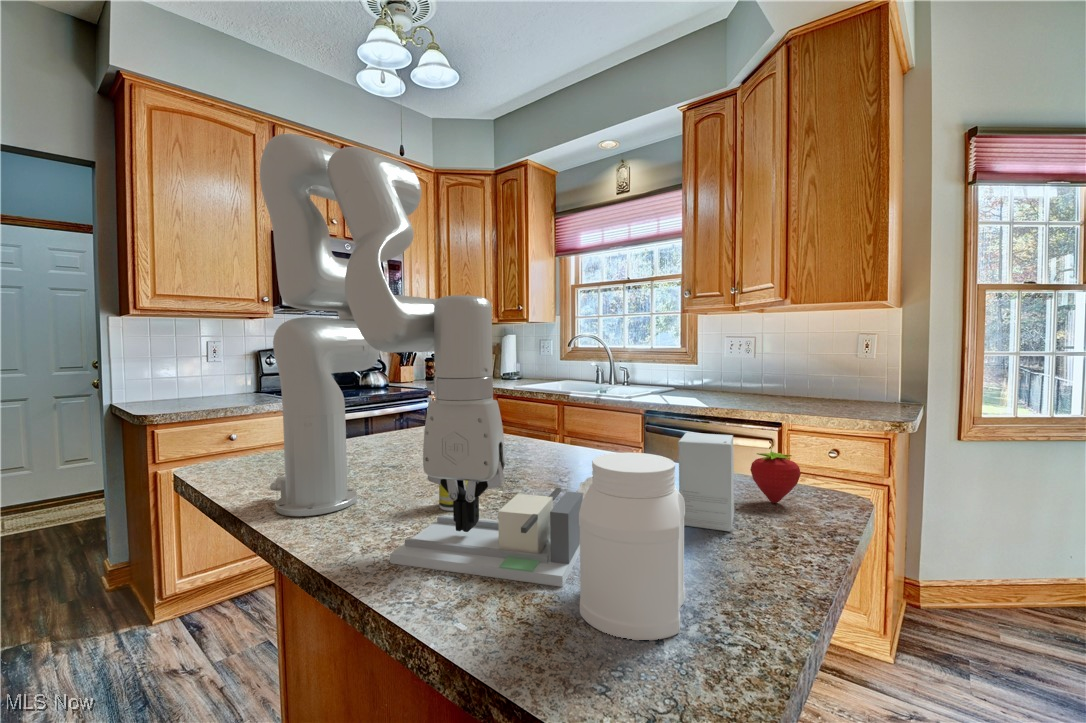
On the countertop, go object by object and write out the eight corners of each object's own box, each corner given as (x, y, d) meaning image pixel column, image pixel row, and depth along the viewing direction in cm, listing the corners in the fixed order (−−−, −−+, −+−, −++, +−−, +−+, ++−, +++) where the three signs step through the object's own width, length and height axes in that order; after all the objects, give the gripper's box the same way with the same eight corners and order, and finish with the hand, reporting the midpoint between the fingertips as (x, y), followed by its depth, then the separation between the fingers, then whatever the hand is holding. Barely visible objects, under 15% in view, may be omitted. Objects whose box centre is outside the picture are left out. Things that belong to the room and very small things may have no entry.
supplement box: (735, 515, 75) (735, 434, 75) (731, 533, 68) (731, 444, 68) (685, 509, 78) (685, 431, 78) (677, 525, 72) (677, 440, 71)
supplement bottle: (462, 512, 78) (461, 460, 78) (434, 510, 79) (433, 459, 79) (472, 502, 83) (471, 453, 83) (446, 501, 84) (445, 452, 84)
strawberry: (803, 511, 77) (803, 448, 76) (751, 506, 79) (751, 445, 79) (797, 499, 82) (798, 440, 82) (749, 495, 85) (749, 438, 84)
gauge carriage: (485, 566, 56) (484, 523, 56) (527, 519, 71) (527, 485, 70) (526, 572, 54) (526, 527, 54) (561, 522, 69) (560, 487, 69)
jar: (676, 650, 43) (676, 481, 42) (572, 629, 46) (570, 472, 46) (686, 587, 54) (686, 452, 53) (601, 574, 57) (600, 446, 56)
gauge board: (390, 563, 60) (388, 505, 60) (444, 522, 74) (443, 475, 74) (562, 586, 54) (561, 522, 54) (587, 537, 67) (587, 486, 67)
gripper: (398, 392, 63) (401, 532, 64) (507, 395, 59) (509, 545, 59) (428, 386, 70) (430, 513, 71) (527, 388, 66) (528, 523, 66)
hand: (466, 527), depth 65 cm, fingers closed
